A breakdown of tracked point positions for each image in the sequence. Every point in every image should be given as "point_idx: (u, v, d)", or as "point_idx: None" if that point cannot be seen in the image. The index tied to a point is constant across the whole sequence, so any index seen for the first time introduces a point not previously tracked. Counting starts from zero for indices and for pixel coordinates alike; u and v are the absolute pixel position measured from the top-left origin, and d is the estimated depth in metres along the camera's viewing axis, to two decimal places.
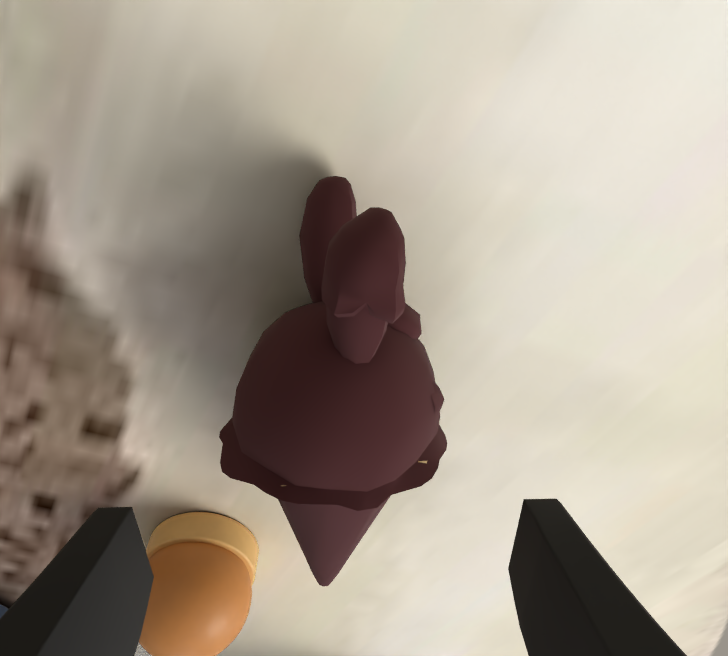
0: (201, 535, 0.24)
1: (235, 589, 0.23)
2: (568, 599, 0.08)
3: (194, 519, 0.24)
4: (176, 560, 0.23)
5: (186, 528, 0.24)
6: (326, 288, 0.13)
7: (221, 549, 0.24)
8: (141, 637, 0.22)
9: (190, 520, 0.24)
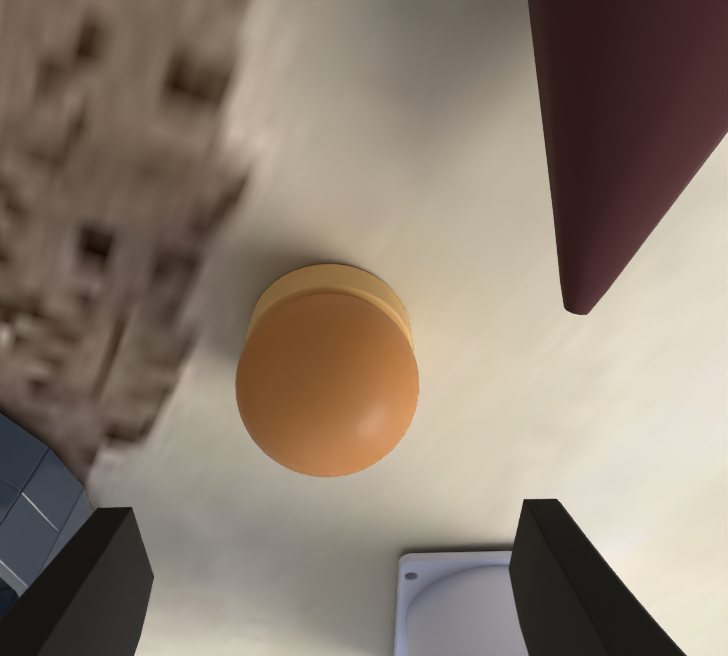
0: (343, 284, 0.15)
1: (406, 354, 0.14)
2: (568, 599, 0.08)
3: (327, 269, 0.16)
4: (314, 305, 0.14)
5: (318, 277, 0.15)
6: None
7: (375, 305, 0.15)
8: (264, 418, 0.13)
9: (321, 270, 0.16)
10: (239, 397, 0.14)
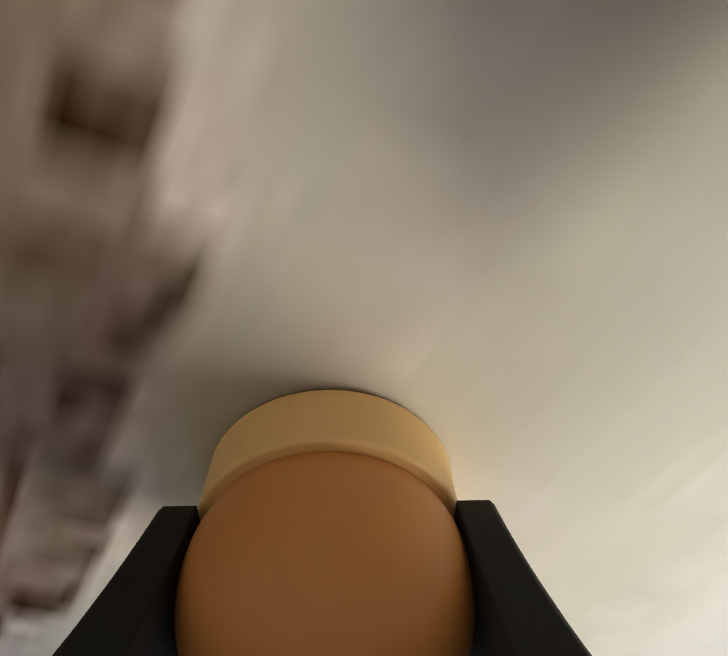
0: (353, 435, 0.09)
1: (460, 571, 0.08)
2: (486, 601, 0.08)
3: (326, 403, 0.10)
4: (304, 491, 0.08)
5: (311, 421, 0.10)
6: None
7: (404, 471, 0.09)
8: None
9: (317, 405, 0.10)
10: (177, 645, 0.08)
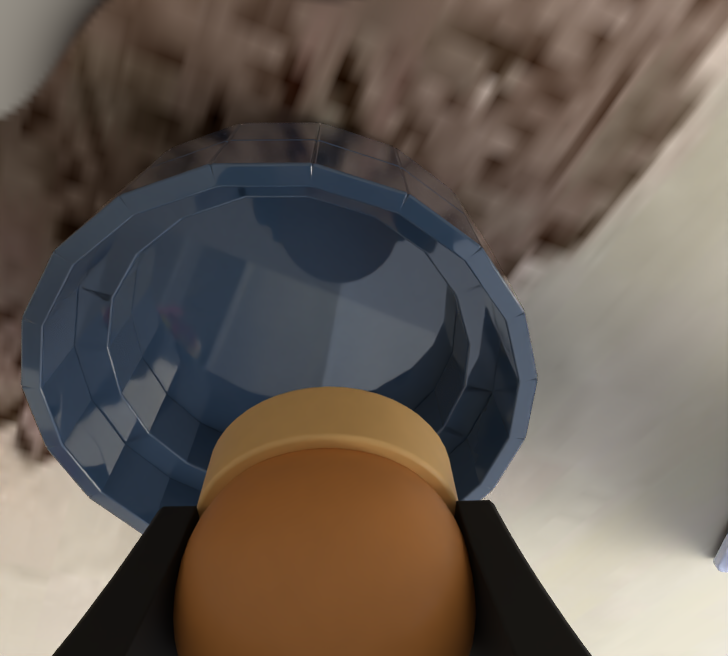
0: (353, 432, 0.09)
1: (460, 568, 0.08)
2: (486, 601, 0.08)
3: (325, 400, 0.10)
4: (304, 487, 0.08)
5: (311, 417, 0.10)
6: None
7: (404, 468, 0.09)
8: None
9: (316, 402, 0.10)
10: (176, 643, 0.08)
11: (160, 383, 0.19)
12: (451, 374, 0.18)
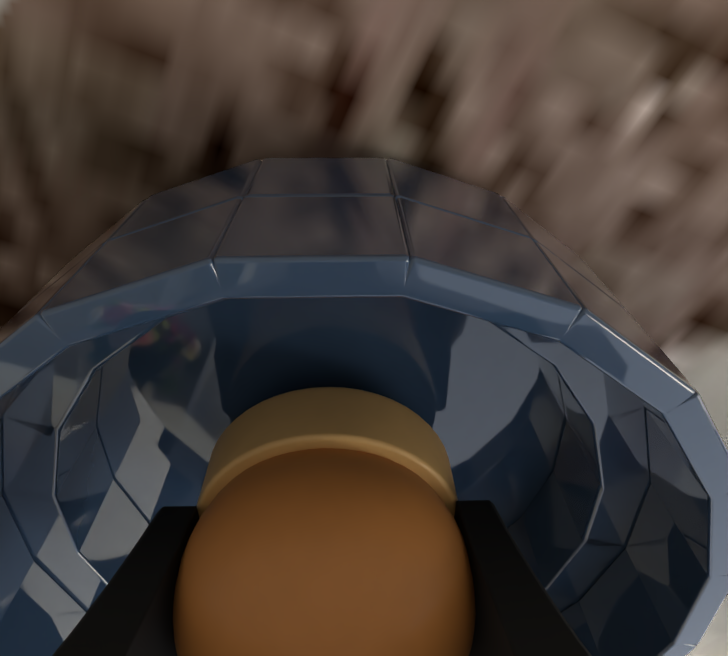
0: (352, 432, 0.09)
1: (460, 568, 0.08)
2: (486, 601, 0.08)
3: (325, 400, 0.10)
4: (303, 488, 0.08)
5: (311, 418, 0.10)
6: None
7: (404, 468, 0.09)
8: None
9: (316, 403, 0.10)
10: (175, 643, 0.08)
11: (140, 511, 0.13)
12: (555, 508, 0.13)
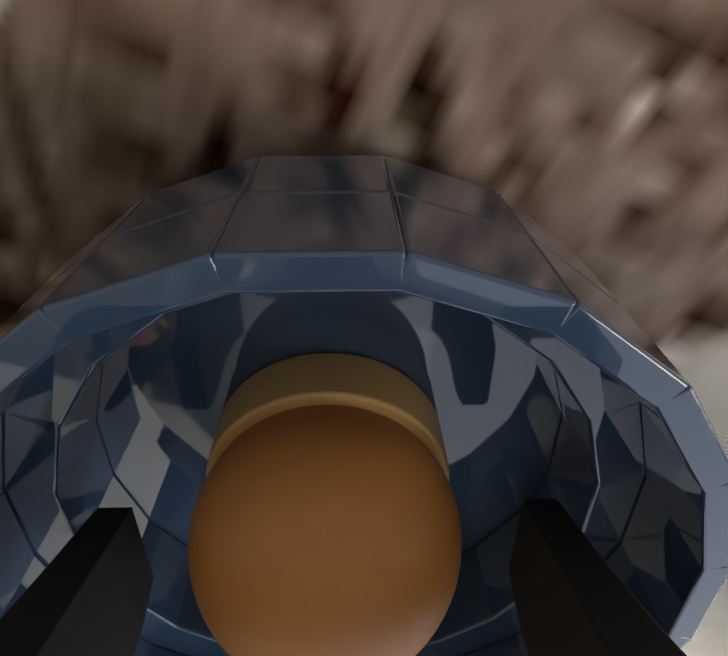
0: (350, 391, 0.10)
1: (446, 509, 0.09)
2: (568, 599, 0.08)
3: (326, 364, 0.11)
4: (306, 435, 0.09)
5: (312, 378, 0.10)
6: None
7: (396, 423, 0.10)
8: (226, 624, 0.08)
9: (317, 366, 0.11)
10: (191, 575, 0.09)
11: (140, 507, 0.13)
12: None
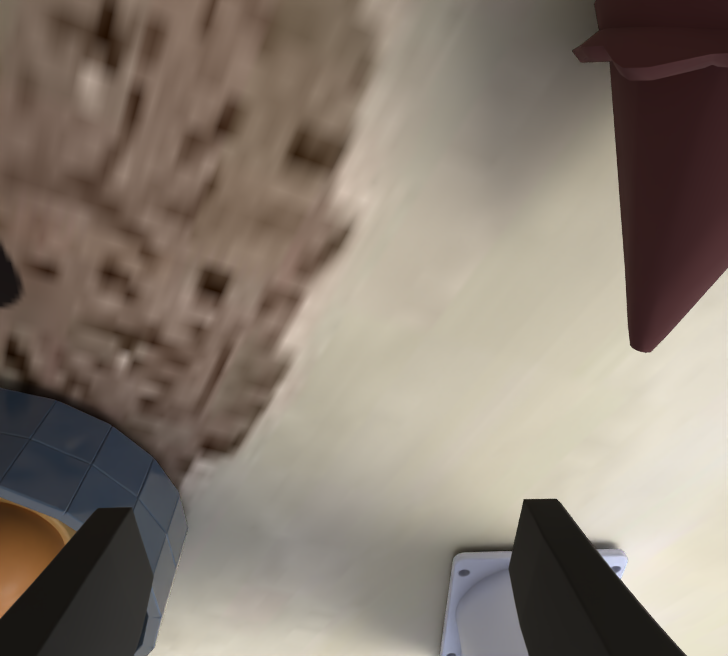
0: None
1: (28, 555, 0.19)
2: (568, 599, 0.08)
3: None
4: None
5: None
6: None
7: (20, 510, 0.20)
8: None
9: None
10: None
11: None
12: None
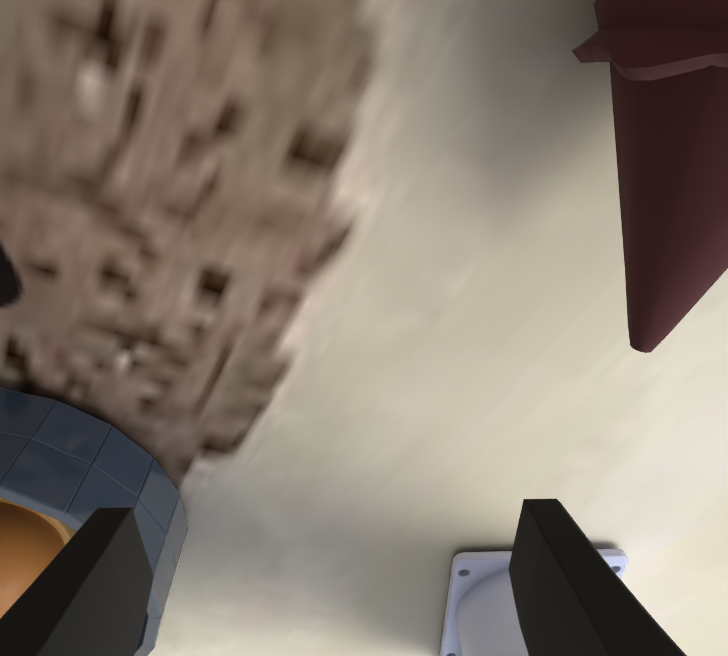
0: None
1: (28, 555, 0.19)
2: (568, 599, 0.08)
3: None
4: None
5: None
6: None
7: (20, 510, 0.20)
8: None
9: None
10: None
11: None
12: None
